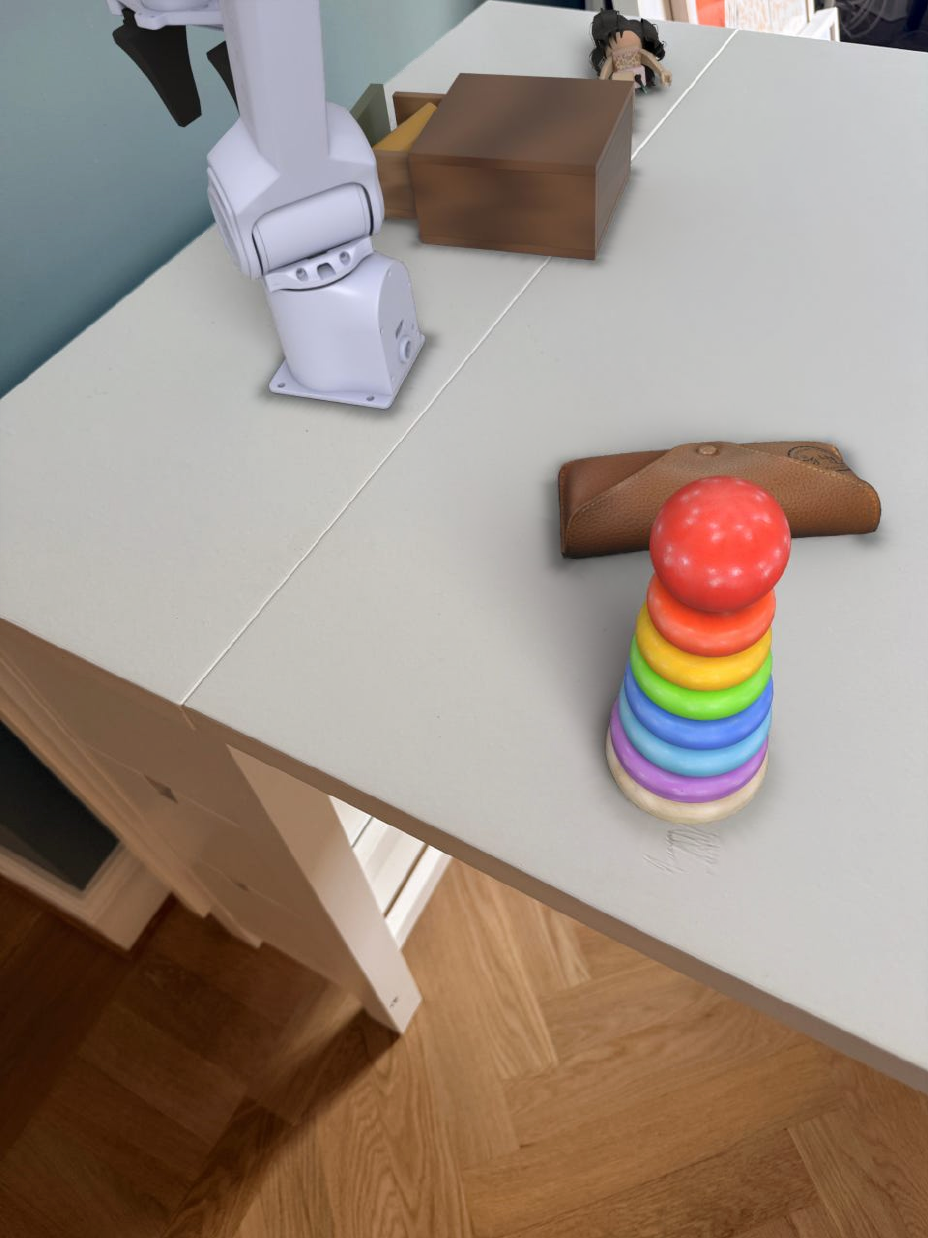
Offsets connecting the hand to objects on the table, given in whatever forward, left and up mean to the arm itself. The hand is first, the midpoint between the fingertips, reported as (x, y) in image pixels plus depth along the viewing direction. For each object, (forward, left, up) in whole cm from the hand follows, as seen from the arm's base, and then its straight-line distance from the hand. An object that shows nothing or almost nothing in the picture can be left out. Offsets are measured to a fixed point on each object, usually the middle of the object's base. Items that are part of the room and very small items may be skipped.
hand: (226, 130), depth 70 cm
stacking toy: (-42, +37, -11) cm, 57 cm away
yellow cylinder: (-11, -10, -7) cm, 17 cm away
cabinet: (-20, -10, -10) cm, 25 cm away
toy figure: (-24, -30, -11) cm, 40 cm away
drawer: (-9, -10, -9) cm, 17 cm away
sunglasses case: (-40, +20, -11) cm, 46 cm away
